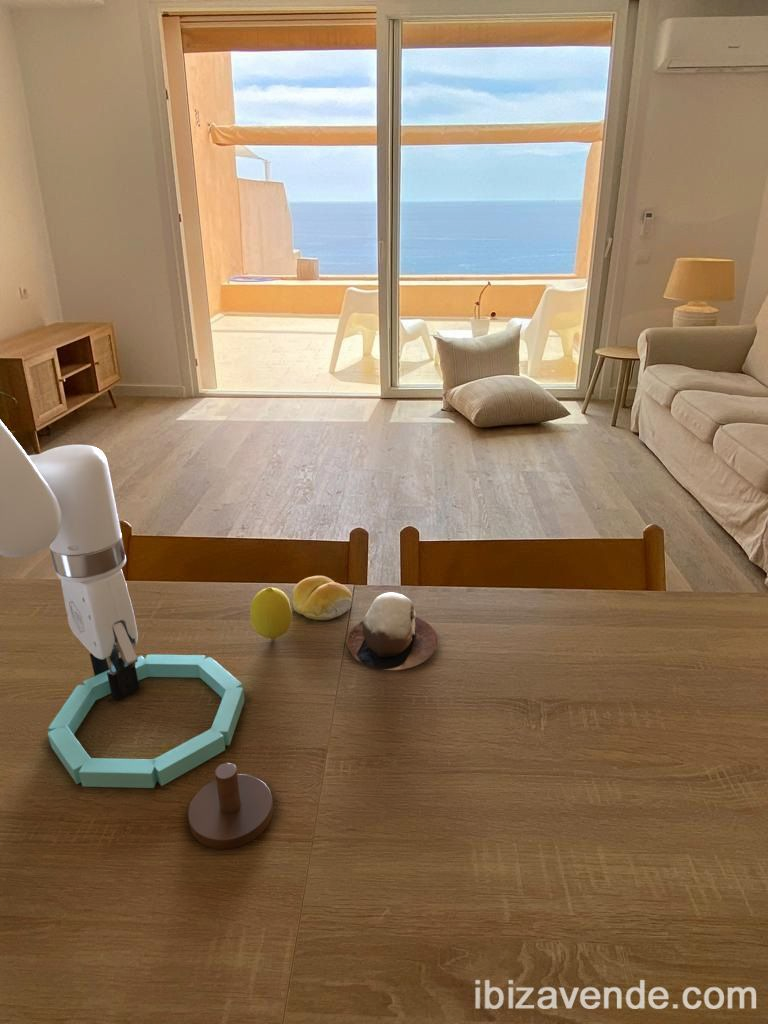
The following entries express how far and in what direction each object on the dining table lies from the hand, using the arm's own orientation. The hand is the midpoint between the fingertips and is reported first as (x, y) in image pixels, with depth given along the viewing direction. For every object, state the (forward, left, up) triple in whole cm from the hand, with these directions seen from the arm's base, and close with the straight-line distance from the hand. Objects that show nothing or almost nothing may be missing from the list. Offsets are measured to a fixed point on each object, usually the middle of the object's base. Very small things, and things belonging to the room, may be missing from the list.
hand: (117, 683), depth 86 cm
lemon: (+20, -5, 0) cm, 20 cm away
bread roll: (+30, -3, 0) cm, 30 cm away
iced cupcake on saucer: (+31, -17, 0) cm, 35 cm away
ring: (0, -9, 0) cm, 9 cm away
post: (0, -27, 0) cm, 27 cm away
